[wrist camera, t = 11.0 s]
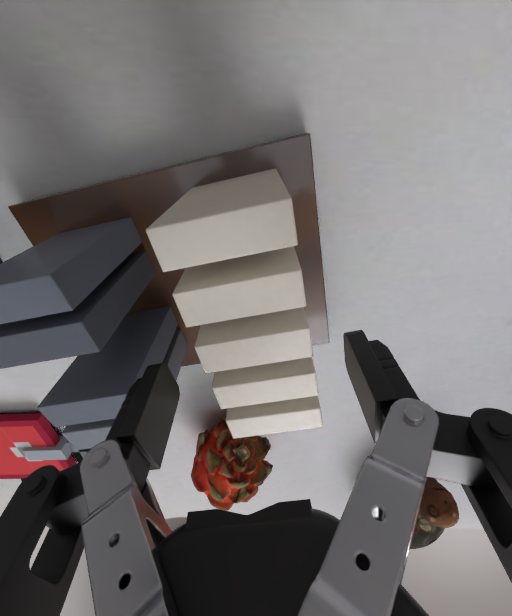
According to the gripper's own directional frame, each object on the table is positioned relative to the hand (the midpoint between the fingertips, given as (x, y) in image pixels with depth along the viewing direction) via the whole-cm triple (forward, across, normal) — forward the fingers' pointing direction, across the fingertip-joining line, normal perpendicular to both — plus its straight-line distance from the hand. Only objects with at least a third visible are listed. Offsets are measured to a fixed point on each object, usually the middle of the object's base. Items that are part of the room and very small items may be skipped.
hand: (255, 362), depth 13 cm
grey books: (+10, +10, 0) cm, 14 cm away
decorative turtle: (+11, -12, +35) cm, 39 cm away
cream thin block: (+10, 0, 0) cm, 10 cm away
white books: (+10, 0, 0) cm, 10 cm away
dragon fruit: (+11, +7, +21) cm, 25 cm away
